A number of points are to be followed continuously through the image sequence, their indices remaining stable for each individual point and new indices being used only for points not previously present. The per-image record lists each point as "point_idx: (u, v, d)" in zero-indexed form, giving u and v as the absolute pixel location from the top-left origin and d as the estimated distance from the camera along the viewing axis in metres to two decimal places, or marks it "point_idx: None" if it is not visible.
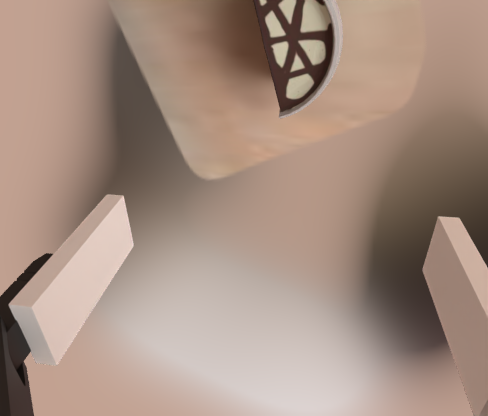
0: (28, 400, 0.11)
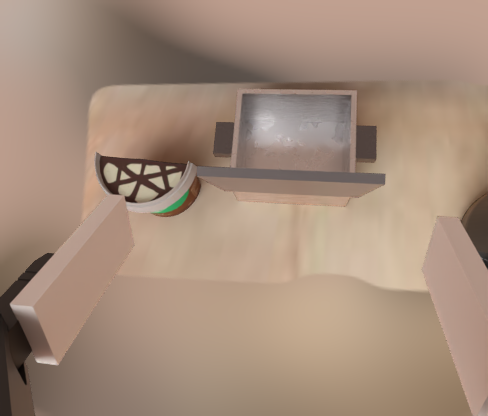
0: (29, 400, 0.11)
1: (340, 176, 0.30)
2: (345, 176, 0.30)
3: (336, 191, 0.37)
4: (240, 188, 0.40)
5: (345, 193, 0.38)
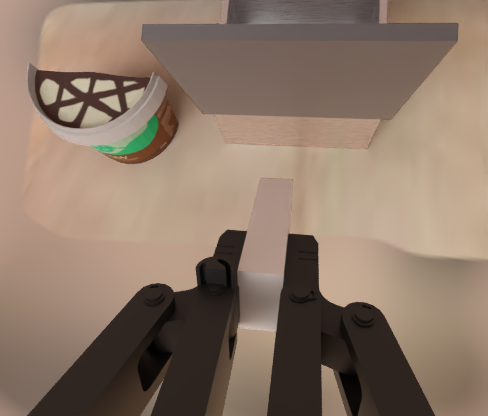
0: (228, 375, 0.12)
1: (380, 30, 0.18)
2: (388, 30, 0.17)
3: (363, 94, 0.24)
4: (222, 98, 0.27)
5: (375, 102, 0.26)
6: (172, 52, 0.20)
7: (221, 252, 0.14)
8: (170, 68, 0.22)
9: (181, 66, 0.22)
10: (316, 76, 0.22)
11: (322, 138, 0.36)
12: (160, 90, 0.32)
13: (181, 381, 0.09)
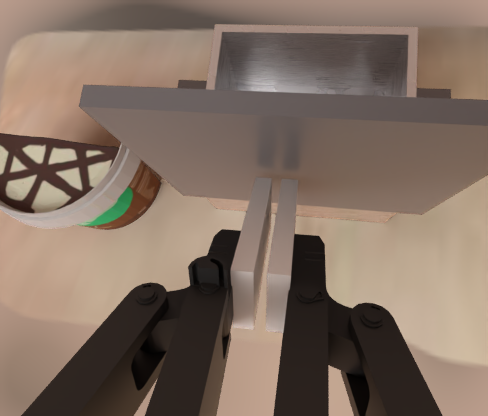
0: (222, 374, 0.12)
1: (437, 108, 0.11)
2: (451, 108, 0.11)
3: (393, 187, 0.18)
4: (205, 181, 0.21)
5: (407, 196, 0.19)
6: (128, 124, 0.14)
7: (215, 252, 0.14)
8: (130, 144, 0.16)
9: (144, 142, 0.16)
10: (332, 164, 0.16)
11: (331, 213, 0.30)
12: (132, 162, 0.26)
13: (175, 380, 0.09)
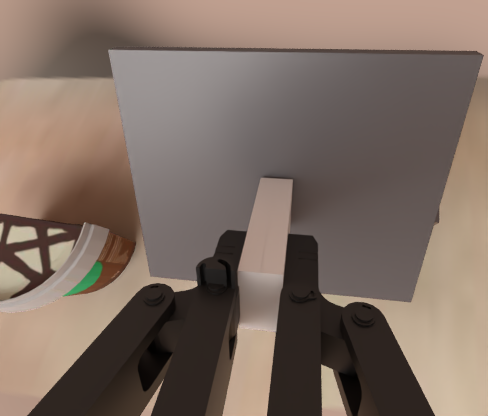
0: (228, 375, 0.12)
1: (387, 51, 0.15)
2: (397, 51, 0.15)
3: (372, 212, 0.18)
4: (182, 224, 0.20)
5: (388, 239, 0.19)
6: (139, 83, 0.17)
7: (221, 252, 0.14)
8: (129, 128, 0.18)
9: (144, 122, 0.18)
10: (311, 154, 0.17)
11: None
12: (97, 241, 0.24)
13: (181, 381, 0.09)
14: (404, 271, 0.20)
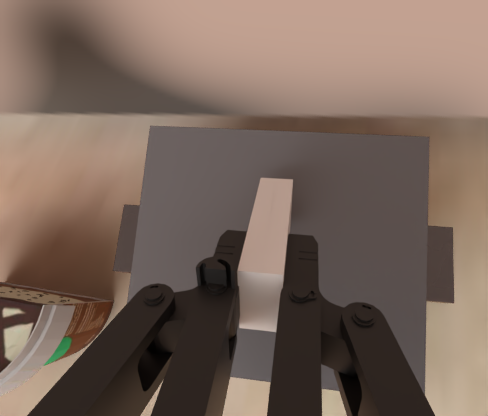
0: (228, 375, 0.12)
1: None
2: None
3: (364, 274, 0.19)
4: (173, 288, 0.20)
5: (385, 307, 0.18)
6: (167, 150, 0.21)
7: (221, 252, 0.14)
8: (148, 186, 0.21)
9: (162, 181, 0.21)
10: (304, 212, 0.20)
11: None
12: (59, 323, 0.21)
13: (181, 381, 0.09)
14: (408, 352, 0.18)
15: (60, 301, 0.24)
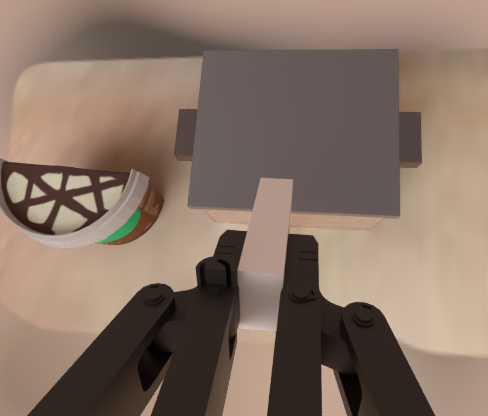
0: (228, 375, 0.12)
1: None
2: None
3: (357, 138, 0.27)
4: (224, 155, 0.28)
5: (371, 158, 0.27)
6: (216, 66, 0.30)
7: (221, 252, 0.14)
8: (203, 90, 0.30)
9: (213, 86, 0.30)
10: (314, 101, 0.28)
11: (320, 223, 0.33)
12: (141, 186, 0.29)
13: (181, 381, 0.09)
14: (388, 185, 0.26)
15: None
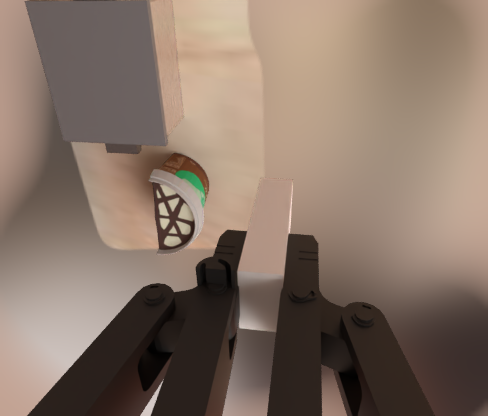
0: (228, 375, 0.12)
1: None
2: None
3: (98, 33, 0.39)
4: (129, 124, 0.43)
5: (110, 22, 0.38)
6: (72, 132, 0.45)
7: (221, 252, 0.14)
8: (90, 139, 0.45)
9: (86, 133, 0.45)
10: (79, 64, 0.41)
11: (170, 41, 0.45)
12: (159, 173, 0.47)
13: (181, 381, 0.09)
14: (127, 9, 0.37)
15: None
